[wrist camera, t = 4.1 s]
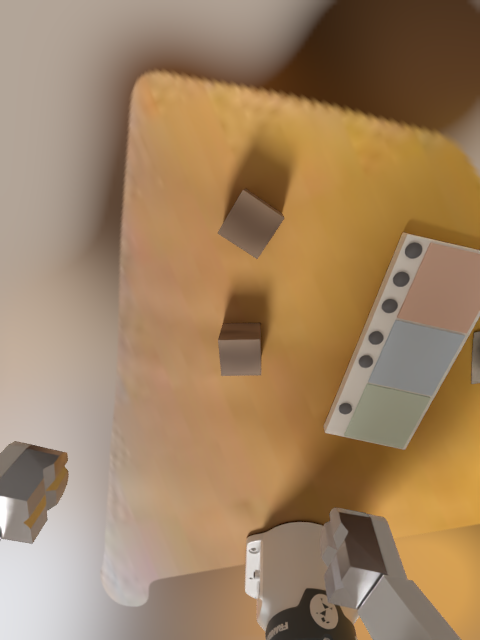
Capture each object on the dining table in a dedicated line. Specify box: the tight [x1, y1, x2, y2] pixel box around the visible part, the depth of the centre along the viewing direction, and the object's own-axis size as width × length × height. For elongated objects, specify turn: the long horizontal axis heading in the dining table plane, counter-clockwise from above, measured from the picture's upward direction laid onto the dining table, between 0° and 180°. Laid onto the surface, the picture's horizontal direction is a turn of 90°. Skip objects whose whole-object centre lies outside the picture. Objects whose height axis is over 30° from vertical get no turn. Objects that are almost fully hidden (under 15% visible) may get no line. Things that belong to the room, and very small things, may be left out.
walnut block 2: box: [218, 323, 261, 376], centre depth 38 cm, size 4×4×4 cm
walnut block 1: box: [218, 188, 284, 259], centre depth 32 cm, size 4×4×4 cm
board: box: [323, 232, 480, 450], centre depth 38 cm, size 26×11×1 cm, turn 168°
